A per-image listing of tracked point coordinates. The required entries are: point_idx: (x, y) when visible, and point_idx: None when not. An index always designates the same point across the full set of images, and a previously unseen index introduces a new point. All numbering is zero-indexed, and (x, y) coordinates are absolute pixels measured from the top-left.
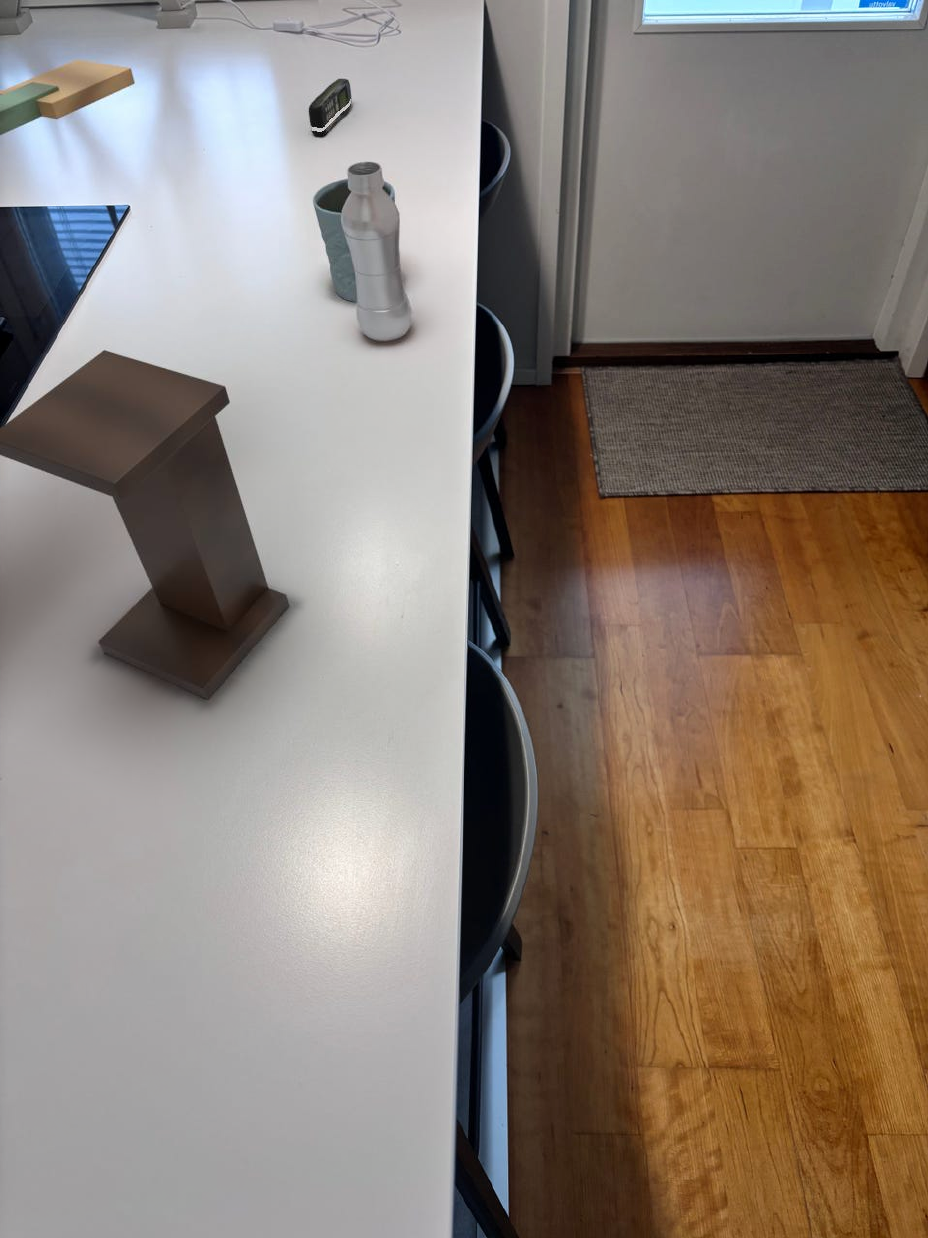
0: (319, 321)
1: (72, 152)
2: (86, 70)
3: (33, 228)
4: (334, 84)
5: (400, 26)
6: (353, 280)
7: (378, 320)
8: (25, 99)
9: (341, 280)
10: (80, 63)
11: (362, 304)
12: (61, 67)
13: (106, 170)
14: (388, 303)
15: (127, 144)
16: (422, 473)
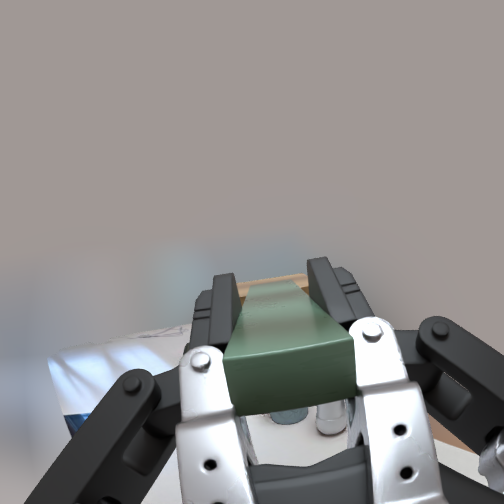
0: (287, 439)
1: (81, 388)
2: (268, 280)
3: (78, 425)
4: (188, 345)
5: (186, 328)
6: (293, 412)
7: (340, 422)
8: (295, 284)
9: (286, 415)
10: (248, 282)
11: (328, 418)
12: (238, 285)
13: (100, 394)
14: (343, 411)
15: (103, 382)
16: (452, 464)
